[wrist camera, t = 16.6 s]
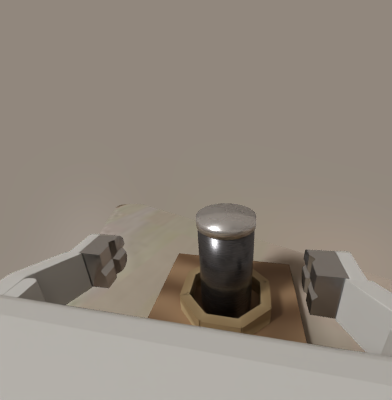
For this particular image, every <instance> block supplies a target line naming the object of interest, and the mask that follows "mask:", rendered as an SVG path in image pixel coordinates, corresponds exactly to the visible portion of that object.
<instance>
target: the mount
mask: <svg viewBox="0 0 392 400" xmlns="http://www.w3.org/2000/svg"><path fill="white" fill-rule="evenodd" d="M148 318H150V319H156V320H162V321H169V322H175V323H181V324H188V325H194V326H200V327H207V328H213V329H219V330H225V331H232V332H238V333H244V334H250V335H257V336H263V337H269V338H275V339H282V340H288V341H294V342H301V343H307V342H306V338H305V333H304V329H303V324H302V320H301V315H300V311H299V306H298V302H297V297H296V293H295V288H294V284H293V279H292V275H291V270H290V266H289V265H287V264H278V263H268V262H258V261H253V273H252V295H251V308H250V311H249V312H247V313H246V314H244V315H243V316H241V317H240V318H238V319H237V318H231V317H224V316H218V315H212V314H207V313H206V312H205V310H204V308H203V306H202V295H201V278H200V261H199V255H189V254H179V255H178V257H177V259H176V261H175V263H174V265H173V267H172V269H171V271H170V273H169V275H168V277H167V279H166V281H165V283H164V286H163V288H162V290H161V292H160V294H159V296H158V298H157V300H156V302H155V304H154V306H153V308H152V310H151V312H150V314H149V316H148Z"/></svg>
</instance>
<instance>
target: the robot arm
mask: <svg viewBox="0 0 392 400" xmlns="http://www.w3.org/2000/svg"><path fill="white" fill-rule="evenodd" d="M123 245H124V241H123V238H122V237H121V236H115V235H105V234H90V235H89V236H88V237H87V238H85V239H84V240H83V241H82V242H81V243H79V244H78V245H77V246H76V247H75V248H73V249H72V250H71V251H70V252H65V253H62V254H60V255H57V256H55V257H52V258H49V259H47V260H44V261H42V262H39V263H37V264H34V265H31V266H29V267H26V268H24V269H21V270H19V271H16V272H14V273H11V274H9V275H7V276H6V277H5V278H3V279H2V280H0V400H392V293H391V292H389V291H388V290H386V289H385V288H383V287H381V286H380V285H378V284H377V283H375V282H373V281H368V280H367V278H366V277H365V275H364V273H363V272H362V270H361V269H360V267H359V266H358V264H357V262H356V261H355V259H354V258H353V256H352V255H351V253H350V252H347V251H346V252H345V251H322V250H305V254H304V260H305V264H306V265H304V266H303V267H302V286H303V290H304V292H305V293H306V294H307V297H306V302H307V306H308V309H309V313H310V315H315V316H322V317H328V318H334V319H336V321H337V322H338V323H339V324H340V325H341V326H342V327H343V328H344V329H345V330H346V331H347V333H348V334H349V335H350V336H351V337H352V338H353V339H354V340H355V341H356V342H357V343H358V344H359V345H360V346H361V347H362V349H363V350H364V351H365V352H366V353H364V352H358V351H352V350H345V349H339V348H333V347H326V346H320V345H314V344H307V343H301V342H294V341H288V340H282V339H275V338H269V337H263V336H257V335H250V334H244V333H238V332H232V331H225V330H219V329H213V328H207V327H200V326H194V325H188V324H181V323H175V322H169V321H162V320H156V319H150V318H143V317H137V316H131V315H124V314H118V313H112V312H105V311H99V310H93V309H86V308H80V307H74V306H67V305H66V304H68V303H69V302H71V301H72V300H74V299H75V298H77V297H78V296H80V295H81V294H83V293H84V292H86V291H88V290H89V289H91V288H92V287H102V288H109V287H110V286H111V285H112V283H113V282H114V281H115V280H116V278H117V275H116V274H117V273H119V272H121V271H122V270H123V269H124V267H125V265H126V262H127V254H126V251H125V250H124V249H123V248H122V247H123Z"/></svg>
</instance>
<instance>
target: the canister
mask: <svg viewBox="0 0 392 400" xmlns="http://www.w3.org/2000/svg"><path fill="white" fill-rule="evenodd" d="M196 226H197V229H198V243H199V261H200V278H201V295H202V306H203V308H204V310H205V312H206V313H207V314H212V315H218V316H224V317H231V318H237V319H238V318H240V317H241V316H243V315H244V314H246V313H247V312H249V311H250V308H251V295H252V273H253V252H254V230H255V227H256V214H255V212H254V211H252V210H251V209H249V208H247V207H245V206H242V205H237V204H215V205H210V206H207V207H204V208H203V209H201V210H199V211H198V213H197V214H196Z"/></svg>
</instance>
